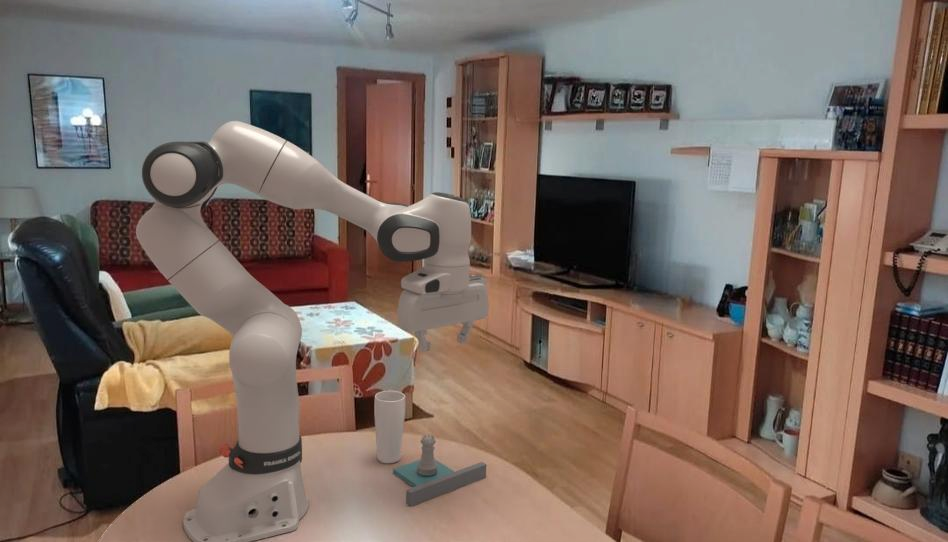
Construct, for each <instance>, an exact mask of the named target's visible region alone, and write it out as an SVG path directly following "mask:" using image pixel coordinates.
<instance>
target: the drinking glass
mask: <svg viewBox="0 0 948 542" xmlns="http://www.w3.org/2000/svg"><path fill="white" fill-rule="evenodd" d="M373 405H374V406H373V407H374V409H373V411H374V414H373V415H374V429H375V443H376V444H375V445H376V459H377V460H378V462H380V463H383V464H395V463H397V462H398V461H400V459H401V457H402V444H403V442H402V441H403V436H404V435H403V434H404V426H405V416H406V395H405V393H403V392H401V391H397V390H382V391H379V392H377V393H376V394H375V395H374V404H373Z"/></svg>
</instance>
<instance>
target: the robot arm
mask: <svg viewBox="0 0 948 542" xmlns="http://www.w3.org/2000/svg"><path fill="white" fill-rule="evenodd" d="M141 178H142V182H143V185H144V188H145V189H146V190H147V192H148V194H149V195H150V196H151V197H152V198H153V199H154V204H153V205H152V207H151V208H150V209H148V210H147V211H146V212H145V213H144V214H143V215H142V216H141V218H139V220H138V222H137V225H136V228H135V235H136V238H137V241H138V242H139V243H140V246H141V247H142V249H143V251H144V252H145V254H146V255H147V257H148V258H149V259H150V260H151V262H152V263H153V264H154V267H156V269H158V272H160V274H161V275H163V276H164V278H165V279H166V280H167V281H168V282H169V284H170V285H172V287H173V288H174V289H175V290H176V291H177V292H178V293H179V294H180V296H181V297H183V299H184V300H185V301H186V302H187V303H188V304H189V305H190V306H191V307H192V308H193V309H194V310H195V312H196V313H198V314H199V315H200V316H202V317H205V318H207V319H209V320H211V321H213V322H214V323H216V324H217V325H218V326H220V327H221V328H222V329H224V330H225V331H226V332H228V333H229V334H230V335H232V339H231V341H230V342H231V343H230V347H229V353H228V355H229V356H228V359H229V367H230V371H231V376H232V383H233V388H234V392H235V399H236V404H237V405H236V408H237V435H238V436H237V437H238V439H237V441H236V443H235V445H234V447H233V448H232V447H230V445H228V444H227V443H223V444H221V445H220V447H218V453H219V454H220V455H221V456H222V457H223V458H228V463H226V465H225V466H224V467H223V468H222V469H220V470H219V471H218V472H216V474H215V475H214V476H213V477H212V478H210V480H208V481H207V482H206V483H205V484H203V486H201V488H200V490H199V492H198V494H197V499H196V505H195V508H192V509H191V510H188V511H186V512H185V513H184V515H183V521H182V524H183V525H182V526H183V530H184V532H185V534H186V535H187V537H188V538H189V539H190V540H191V541H192V542H254V541H257V540H261V539H262V540H263V539H266V538H269V537H273V536H277V535H281V534H282V535H283V534H285V533H290V532H294V531H295V530H297V529H298V527H299V523H300V520H301V519H302V518H303V517H304V516H305V515H306V513H307V512H308V510H309V505H310V504H309V500H308V498H307V495H306V494H307V493H306V491H305V487H304V481H303V475H302V467H301V466H302V465H301V464H302V461H303V441H302V440H303V439H302V436H301V434H300V397H299V391H298V390H299V389H298V382H297V381H298V380H297V365H296V364H297V355H298V351H299V346H300V342H301V340H302V335H303V327H302V322H301V320H300V317H299V316H298V314H297V312H296V311H295V310H294V309H293V308H292V307H291V306H290V305H288V304H285V303H284V302H282V300H281V299H279V298H278V297H277V296H276V295H275V294H274V293H273V292H271V290H269V289H268V288H267V287H266V286H264V284H262V283H260V282H259V281H258V280H257V279H256V278H255V277H253V275H251V273H249V271H247V270H246V269H245V267H244V266H243V265H242V264H241V263H240V261H238V259H237V258H236V257H235V256H234V255H233V254H232V253H231V252H230V250H229V249H228V248H227V247H226V246H225V245H224V244H223V242H222V241H221V240H219V238H218V237H217V236H216V235H215V234H214V233H213V232H212V230H211V229H210V228H209V227H208V225H207V224H206V223H205V221H204V219H203V217H202V214H201V213H202V211H203V210H204V209H205V207H206V206H207V205H208V202H209V201H210V200H211V199H212V197H213V196H214V194H215V193H216V191H217V190H218V186H221V185H225V184H231V185H235V186H238V187H241V188H242V189H244V190H247V191H249V192H251V193H252V194H254V195H256V196H259V197H260V198H262V199H264V200H266V201H269V202H271V203H273V204H275V205H279V206H282V207H285V208H288V209H292V210H310V209H311V210H321V211H326V212H327V213H330V214H333V215H335V216H337V217H339V218H341V219H344V220H345V221H347V222H349V223H352V224H353V225H356V226H358V227H359V228H362V229H363V230H365V231H366V232H368V233H369V234H370V235H371V237H372V238H373V239H374V240H375V242H376V245H377V246H378V248H379V251H380V252H381V253H382V254H383V255H384V256H385V257H386V258H387V259H389V260H390V261H392V262H395V263H407V262H415V261H420V260H423V266H422V267H420V268H418V269H417V270H415V271H413V272H411V273H409V274H407V275H405V276H403V277H402V278H401V280H400V286H401V288H402V289H404V290H403V291H402V292H401V294H400V296H399V298H398V305H397V306H398V307H397V324H398V326H399V328H400V329H401V330H403V331H405V332H407V333H414V335H415V337H416V339H417V341H418V342H419V343H418V349H419V351H421V352H422V353H425V352H428V351H431V350H432V349H431V347H432V345H431V343H432V342H431V341H428V340H427V338H426V335H428V330H432V329H437V328H438V329H439V328H443V327H447V326H453V325H457V324H461V325H462V326H461V329H460V332H458V333H456V342H457V343H460V344H461V345H462V344H467V343H468V342H469V334H470V333H471V331H472V328H473V327H474V321H479V320H484V319H486V317H487V316H488V314H489V295H488V289H487V285H488V281H487V278H486V277H485V276H484V275H482V273H475V274H470V273H471V272H470V271H471V270H470V269H471V261H470V260H471V259H470V256H469V248H470V245H471V242H472V215H471V208H470V205H469V204H468V202H467V201H466V200H465V199H464V198H462V197H460V196H456V195H454V194H449V193H445V192H438V191H435V192H431V193H430V194H429V195H428V196H426V197H424V198H423V199H422V200H419V201H418V202H415V203H413V204H411V205H407V204H404V203H401V202H387V201H381V200H378V199H377V198H374V197H372V196H370V195H368V194H366V193H365V192H362V191H361V190H359V189H356V188H354V187H353V186H351V185H349V184H347V183H346V182H345V183H344V181H342V180H340V179H339V178H337V177H336V176H335V175H334V174H332V172H331V171H330V170H328V169H327V168H326V167H325V166H324V165H323V164H322V163H321V162H319V161H318V160H317V159H315V158H314V157H313V156H312V155H310V153H308V152H307V151H305V150H303V149H302V148H301V147H299V146H297V145H295V144H294V143H292V142H290V141H289V140H286V139H285V138H282V137H280V136H279V135H277V134H274V133H272V132H270V131H267V130H266V129H263V128H261V127H257V126H255V125H252V124H249V123H245V122H243V121H240V120H233V121H232V120H231V121H227V122H226V123H224V124H222V125H221V126H220V127H218V129H217V130H216V131H215V132H214V134H213V135H212V136H211V139H210V140H209V141H208V142H206V141H172V142H171V141H170V142H165V143H162V144H160V145H158V146H156V147H155V148H153V149H152V150H151V151H150V152H149V153H148V154H147V156H146V157H145V159H144V161H143V163H142V167H141Z"/></svg>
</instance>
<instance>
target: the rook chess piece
mask: <svg viewBox="0 0 948 542" xmlns="http://www.w3.org/2000/svg"><path fill="white" fill-rule="evenodd" d="M419 442H420V443H421V444H422V445H421V456H420V457H421V458H420V459H419V460H420V461H419V463H418V465H417V467H418V468H417V472H418V473H419V474H420V475H422V476H433V475H435V474H436V473H437V470H438V469H437V463H436V461H435V460H436V459H435V455H434V450H435V446H434V445H435V444H436V443H437V441H436V440H435V435H433V434H432V435H431V434H427V435H426V434H423V435H422V437H421V439H420V441H419Z"/></svg>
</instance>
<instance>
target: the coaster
mask: <svg viewBox="0 0 948 542" xmlns="http://www.w3.org/2000/svg"><path fill="white" fill-rule="evenodd" d="M420 460H421V459H418V460H415V461H412V462H409V463H406V464H403V465H401V466H397V467H395V468H392V474H393V475H395V476H396V477H397V478H399V479H401V480H402V481H403V482H405V483H406V484H408V485H409V486H411V488H412V487H415V486H418V485H420V484H423V483H426V482H428V481H431V480H434V479H436V478H439V477H442V476H445V475H447V474H450V473H453V472H455V471H456V470H453V469H452V468H450V467H449V466H447V465H445V464H443V463H442V462H440V461H439V460H436V459H435V461H436V463H437V469H438V470H437V473H436V474H435V475H433V476H422V475H420V474H419V473H418V472H417V468H418V467H417V465H418V463H419V461H420Z"/></svg>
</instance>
